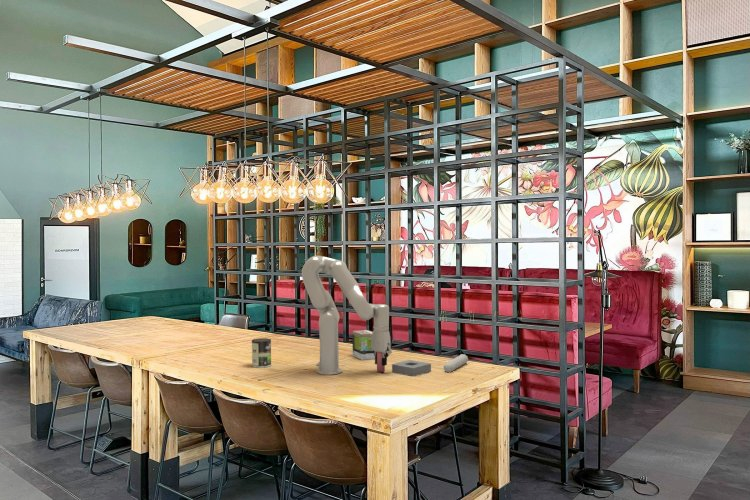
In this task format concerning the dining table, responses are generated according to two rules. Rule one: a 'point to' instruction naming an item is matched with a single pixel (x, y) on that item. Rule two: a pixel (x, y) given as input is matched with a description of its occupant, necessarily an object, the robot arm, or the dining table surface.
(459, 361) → the tube
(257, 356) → the coffee can
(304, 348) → the dining table surface
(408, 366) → the socket block
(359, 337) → the tea box
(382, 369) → the peg
